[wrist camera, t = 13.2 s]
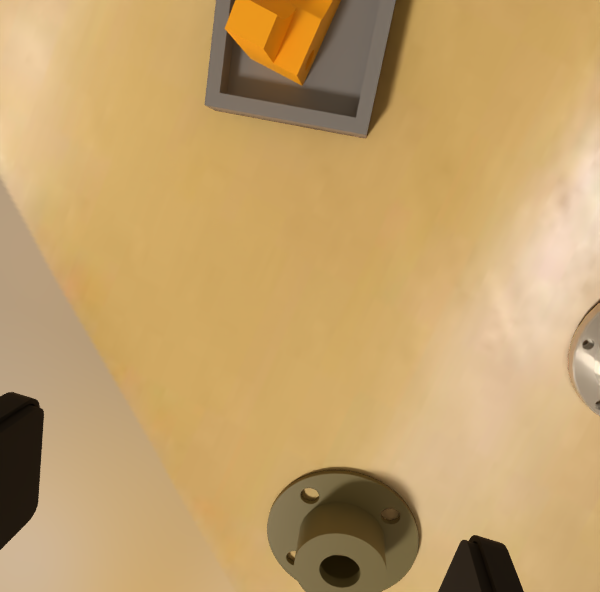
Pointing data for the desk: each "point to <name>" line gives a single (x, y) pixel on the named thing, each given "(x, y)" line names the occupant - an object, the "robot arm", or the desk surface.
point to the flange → (342, 533)
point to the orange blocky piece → (282, 32)
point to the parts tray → (320, 80)
